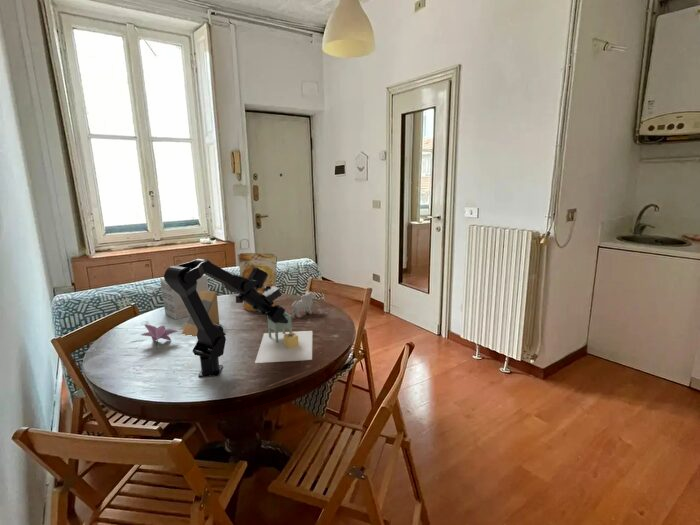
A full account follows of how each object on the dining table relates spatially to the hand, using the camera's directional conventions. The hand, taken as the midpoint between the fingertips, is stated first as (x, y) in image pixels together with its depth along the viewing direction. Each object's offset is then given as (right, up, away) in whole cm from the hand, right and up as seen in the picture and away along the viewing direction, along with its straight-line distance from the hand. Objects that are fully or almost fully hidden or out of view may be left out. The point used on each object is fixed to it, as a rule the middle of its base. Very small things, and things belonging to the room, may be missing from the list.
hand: (282, 319), depth 147 cm
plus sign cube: (+5, -9, -6) cm, 12 cm away
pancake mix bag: (-18, 0, +34) cm, 38 cm away
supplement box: (-52, -1, +32) cm, 62 cm away
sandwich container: (-38, -6, +12) cm, 40 cm away
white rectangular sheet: (+3, -9, -6) cm, 12 cm away
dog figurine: (+5, -2, +27) cm, 28 cm away
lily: (-48, -10, -3) cm, 49 cm away
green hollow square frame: (-1, -7, +1) cm, 8 cm away
